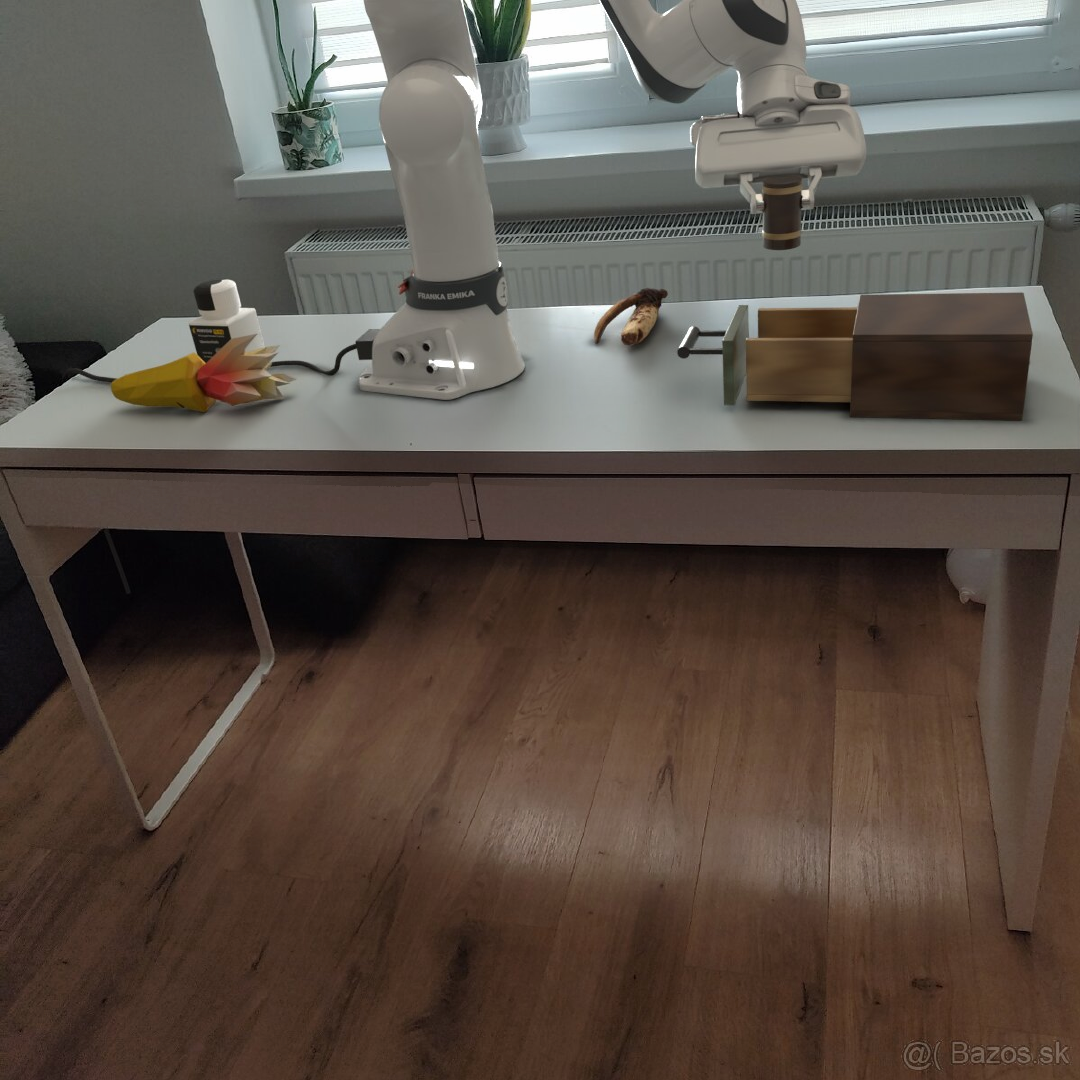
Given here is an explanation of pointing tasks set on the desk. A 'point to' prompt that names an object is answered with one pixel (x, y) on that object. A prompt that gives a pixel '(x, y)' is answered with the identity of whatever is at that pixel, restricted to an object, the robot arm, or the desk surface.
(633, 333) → the bone fish hook
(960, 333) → the cabinet
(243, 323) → the medicine bottle
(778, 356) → the drawer
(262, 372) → the torch
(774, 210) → the banded brown cylinder
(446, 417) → the desk surface
